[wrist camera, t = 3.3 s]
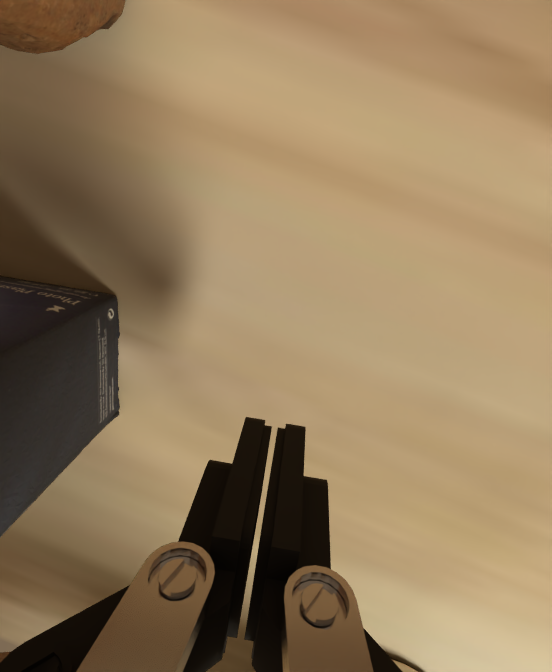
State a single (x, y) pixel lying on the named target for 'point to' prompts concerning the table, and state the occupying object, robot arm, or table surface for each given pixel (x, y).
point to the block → (53, 22)
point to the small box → (51, 383)
